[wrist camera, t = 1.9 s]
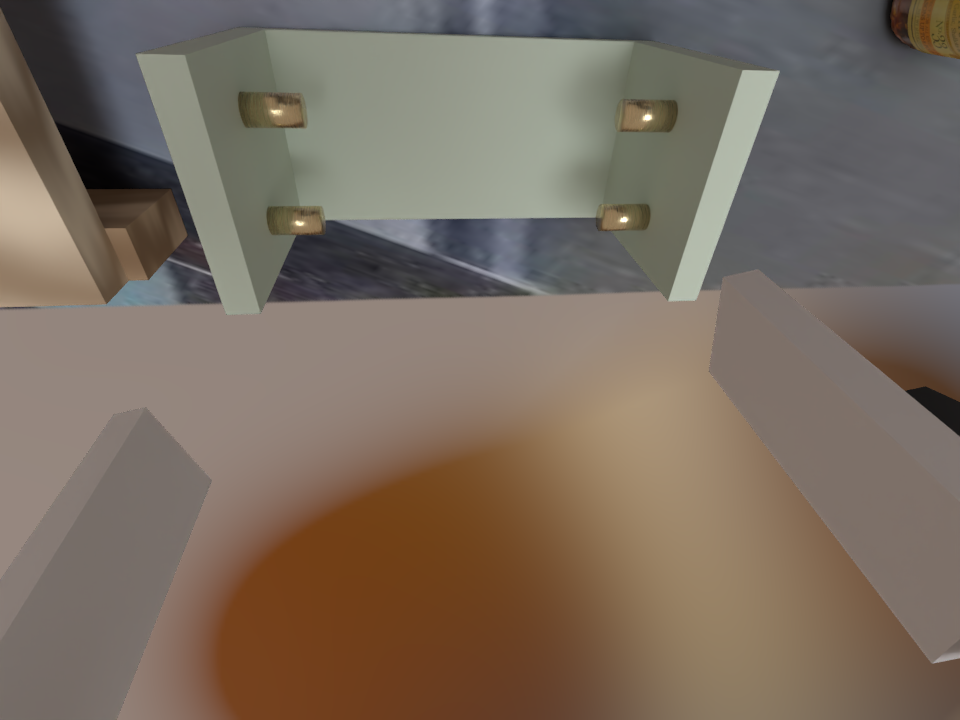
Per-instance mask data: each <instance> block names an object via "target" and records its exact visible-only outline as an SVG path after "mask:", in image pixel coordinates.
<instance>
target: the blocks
mask: <svg viewBox="0 0 960 720" xmlns="http://www.w3.org/2000/svg"><path fill="white" fill-rule="evenodd" d="M86 190H87V193H88V195H89V197H90V199H91V201H92V203H93V205H94V207H95V210H96V212H97V214H98V216H99V218H100V220H101V222H102V224H103V227H104V229H105V231H106V233H107V235H108V237H109V239H110V241H111V244H112V246H113V248H114V250H115V252H116V254H117V256H118V258H119V260H120V263H121V265H122V267H123V269H124V271H125V273H126V275H127V277H128V280H149V279H150V278H151V276H152V275H153V274H154V273H155V272H156V271H157V270H158V268H159V267H160V266H161V265H162V264H163V263H164V262H165V261H166V259H167V258H168V257H169V256H170V255H171V254H172V253H173V251H174V250H175V249H176V248H177V247H178V246H179V245H180V244H181V242H182V241H183V240H184V239H185V238H186V237H187V236H188V235H187V232H186V229H185V226H184V224H183V221H182V218H181V215H180V213H179V210H178V207H177V204H176V202H175V199H174V196H173V193H172V191H171V189H86Z"/></svg>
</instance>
